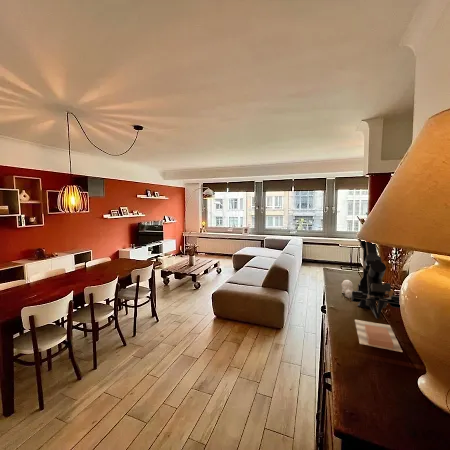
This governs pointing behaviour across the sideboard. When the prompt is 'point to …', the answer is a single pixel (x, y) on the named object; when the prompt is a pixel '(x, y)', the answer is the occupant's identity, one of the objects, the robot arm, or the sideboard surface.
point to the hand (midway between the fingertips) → (377, 318)
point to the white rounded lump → (347, 288)
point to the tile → (378, 336)
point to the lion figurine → (390, 293)
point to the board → (361, 326)
